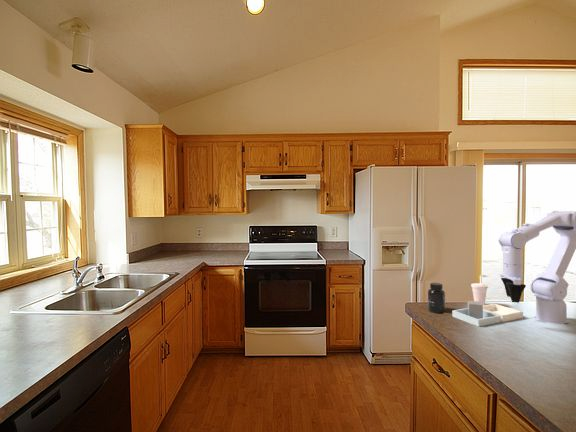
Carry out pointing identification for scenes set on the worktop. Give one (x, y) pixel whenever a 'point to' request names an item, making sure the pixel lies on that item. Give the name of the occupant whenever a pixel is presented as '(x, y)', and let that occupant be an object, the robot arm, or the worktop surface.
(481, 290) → the smoothie
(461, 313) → the bin
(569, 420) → the worktop surface
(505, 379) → the worktop surface
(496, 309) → the bin
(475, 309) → the stone block
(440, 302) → the supplement bottle
